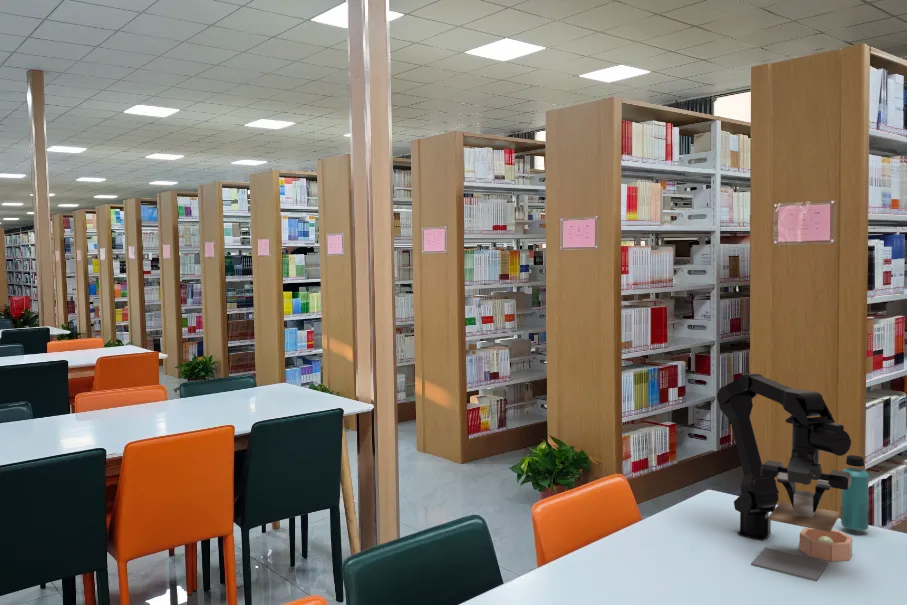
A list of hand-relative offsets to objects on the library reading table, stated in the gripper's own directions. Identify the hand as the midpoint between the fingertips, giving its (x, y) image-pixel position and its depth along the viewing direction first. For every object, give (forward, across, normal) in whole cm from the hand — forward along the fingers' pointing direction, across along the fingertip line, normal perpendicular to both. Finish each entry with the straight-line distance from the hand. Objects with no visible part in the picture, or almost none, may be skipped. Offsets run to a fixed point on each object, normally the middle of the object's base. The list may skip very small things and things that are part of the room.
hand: (804, 510), depth 168 cm
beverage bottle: (+12, +7, +27) cm, 31 cm away
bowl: (+12, +3, +8) cm, 15 cm away
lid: (+2, 0, 0) cm, 2 cm away
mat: (+12, -2, -5) cm, 13 cm away
